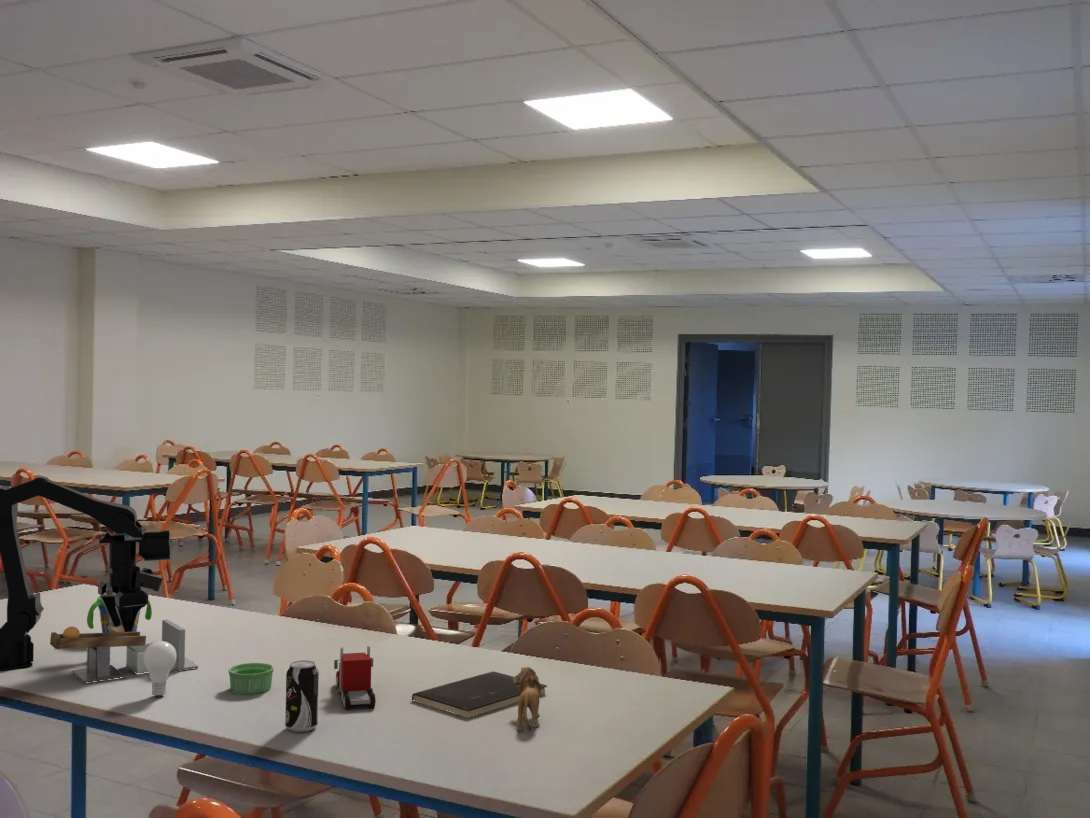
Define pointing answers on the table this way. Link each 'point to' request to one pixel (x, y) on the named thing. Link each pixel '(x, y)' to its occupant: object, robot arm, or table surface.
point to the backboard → (177, 643)
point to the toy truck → (355, 678)
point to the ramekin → (250, 678)
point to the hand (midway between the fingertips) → (122, 630)
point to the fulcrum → (98, 666)
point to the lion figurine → (528, 696)
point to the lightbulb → (159, 664)
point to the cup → (137, 658)
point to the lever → (99, 639)
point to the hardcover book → (473, 694)
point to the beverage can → (302, 696)
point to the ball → (71, 632)
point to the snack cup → (106, 618)
